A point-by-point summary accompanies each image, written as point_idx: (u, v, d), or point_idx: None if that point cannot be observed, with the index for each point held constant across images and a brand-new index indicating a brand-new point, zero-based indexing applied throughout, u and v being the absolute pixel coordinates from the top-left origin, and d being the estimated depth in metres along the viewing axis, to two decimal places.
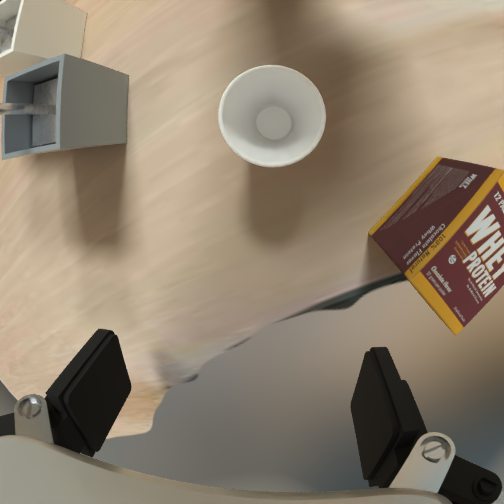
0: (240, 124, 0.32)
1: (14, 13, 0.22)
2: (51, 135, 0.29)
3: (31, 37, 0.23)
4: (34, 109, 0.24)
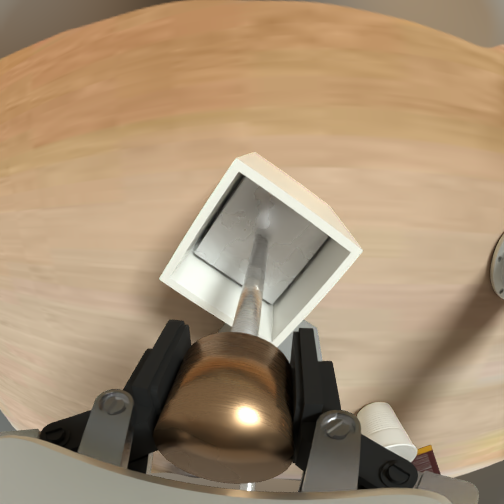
0: None
1: None
2: None
3: None
4: None
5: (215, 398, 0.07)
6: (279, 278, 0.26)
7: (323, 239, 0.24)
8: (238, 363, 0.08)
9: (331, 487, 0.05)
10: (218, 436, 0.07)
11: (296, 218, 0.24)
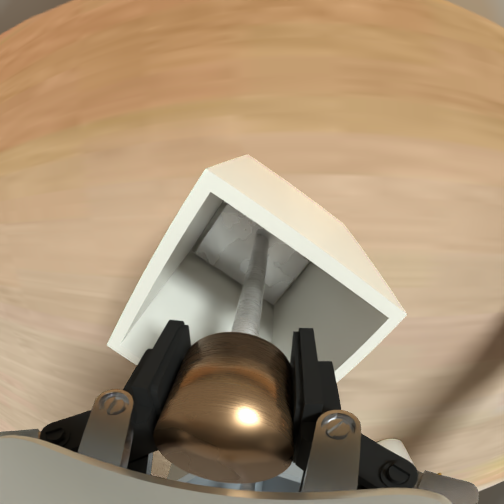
0: None
1: None
2: None
3: None
4: None
5: (215, 398, 0.07)
6: (279, 278, 0.26)
7: None
8: (238, 363, 0.08)
9: (331, 487, 0.05)
10: (218, 436, 0.07)
11: None
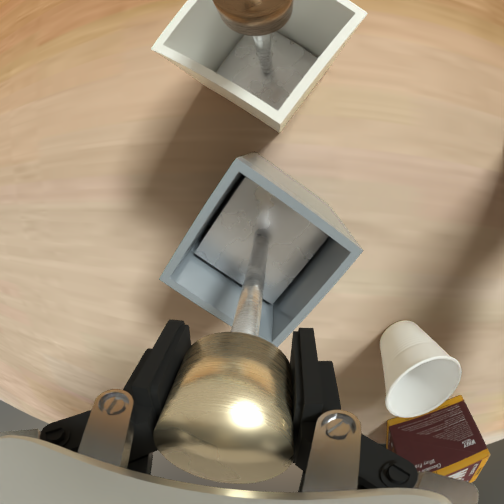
0: None
1: None
2: (234, 267, 0.26)
3: (300, 100, 0.19)
4: None
5: None
6: (282, 95, 0.28)
7: None
8: None
9: (331, 487, 0.05)
10: None
11: (294, 50, 0.26)
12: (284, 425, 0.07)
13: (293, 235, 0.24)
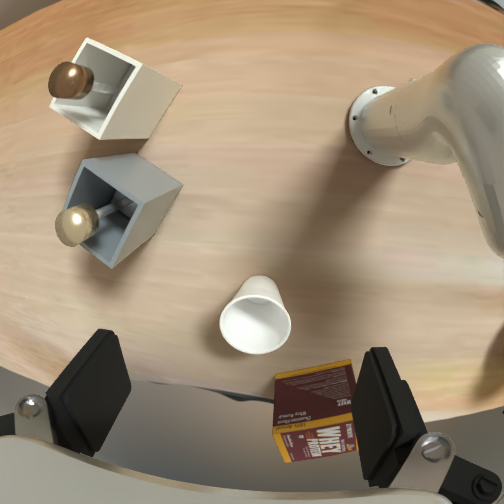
0: None
1: None
2: (128, 209, 0.47)
3: (120, 122, 0.33)
4: (129, 204, 0.42)
5: None
6: None
7: None
8: None
9: None
10: (62, 71, 0.23)
11: None
12: (80, 217, 0.28)
13: None
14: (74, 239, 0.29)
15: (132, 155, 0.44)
